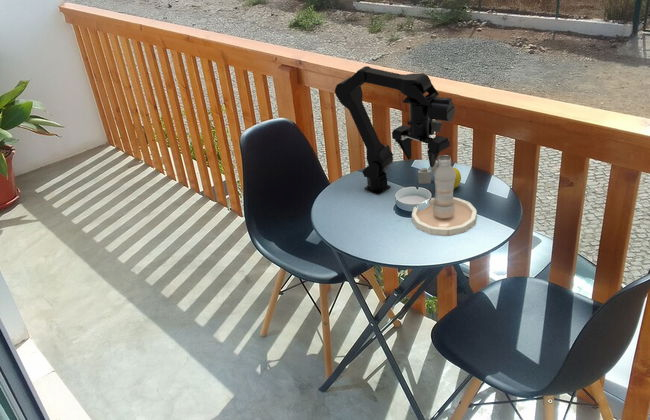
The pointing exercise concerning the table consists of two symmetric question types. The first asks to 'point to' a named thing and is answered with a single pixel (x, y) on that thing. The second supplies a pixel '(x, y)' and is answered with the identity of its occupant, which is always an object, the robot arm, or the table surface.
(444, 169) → the plastic bottle
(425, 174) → the lighter
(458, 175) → the lemon
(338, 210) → the table surface
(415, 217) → the round tray
